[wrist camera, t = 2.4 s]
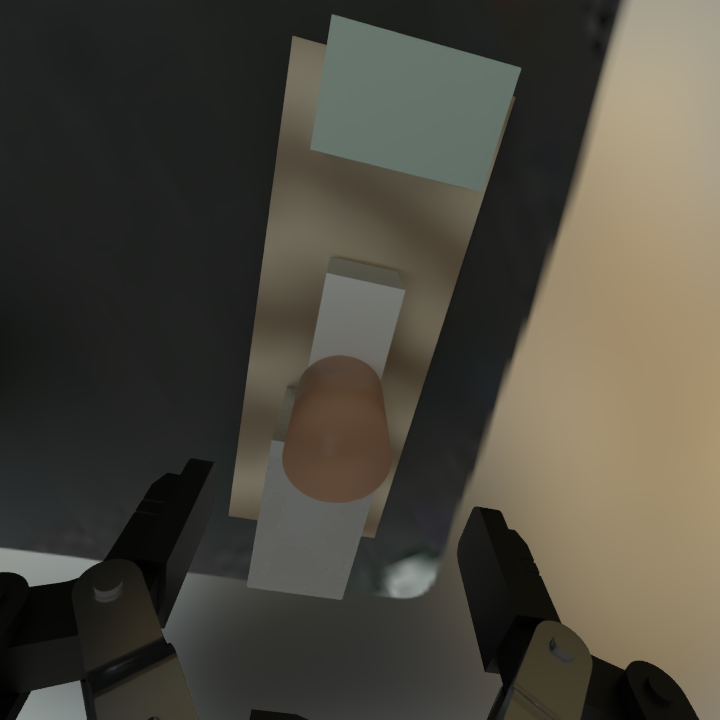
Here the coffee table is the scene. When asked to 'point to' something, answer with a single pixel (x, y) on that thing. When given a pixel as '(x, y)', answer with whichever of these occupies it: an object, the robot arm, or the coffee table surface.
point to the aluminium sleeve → (302, 530)
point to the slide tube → (345, 387)
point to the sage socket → (410, 104)
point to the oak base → (352, 243)
